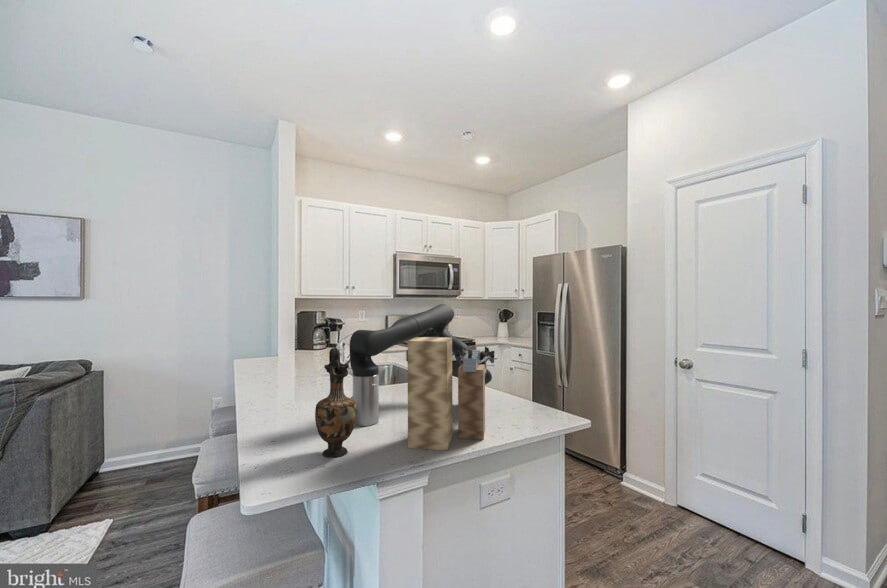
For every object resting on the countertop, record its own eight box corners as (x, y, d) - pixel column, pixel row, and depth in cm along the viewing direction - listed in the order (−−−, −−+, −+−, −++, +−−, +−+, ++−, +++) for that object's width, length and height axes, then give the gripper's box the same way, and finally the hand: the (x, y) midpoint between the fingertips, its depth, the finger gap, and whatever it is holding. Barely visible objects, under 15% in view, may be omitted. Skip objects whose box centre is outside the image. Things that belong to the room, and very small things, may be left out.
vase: (317, 464, 104) (317, 353, 104) (313, 447, 115) (313, 347, 116) (360, 456, 109) (360, 350, 109) (352, 441, 120) (352, 345, 120)
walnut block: (458, 438, 123) (458, 369, 123) (461, 427, 132) (461, 363, 133) (483, 439, 121) (483, 369, 122) (485, 428, 131) (484, 364, 131)
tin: (463, 371, 119) (463, 350, 119) (468, 360, 139) (468, 343, 139) (476, 371, 118) (475, 351, 119) (480, 361, 138) (479, 343, 138)
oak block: (407, 448, 115) (407, 340, 115) (416, 434, 126) (415, 337, 126) (447, 450, 113) (447, 341, 113) (452, 436, 124) (452, 337, 124)
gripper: (458, 355, 151) (454, 338, 137) (495, 356, 149) (494, 339, 135) (457, 373, 147) (452, 358, 134) (495, 374, 145) (494, 359, 131)
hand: (473, 348), depth 134 cm, fingers open, 8 cm apart
